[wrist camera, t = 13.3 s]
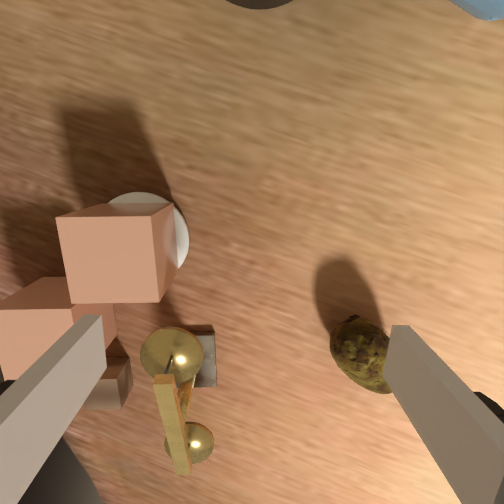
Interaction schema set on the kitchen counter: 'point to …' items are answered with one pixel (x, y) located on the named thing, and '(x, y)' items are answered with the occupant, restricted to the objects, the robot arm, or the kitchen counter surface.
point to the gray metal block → (111, 386)
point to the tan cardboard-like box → (42, 322)
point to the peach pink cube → (119, 252)
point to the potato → (361, 352)
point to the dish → (180, 222)
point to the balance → (181, 389)
